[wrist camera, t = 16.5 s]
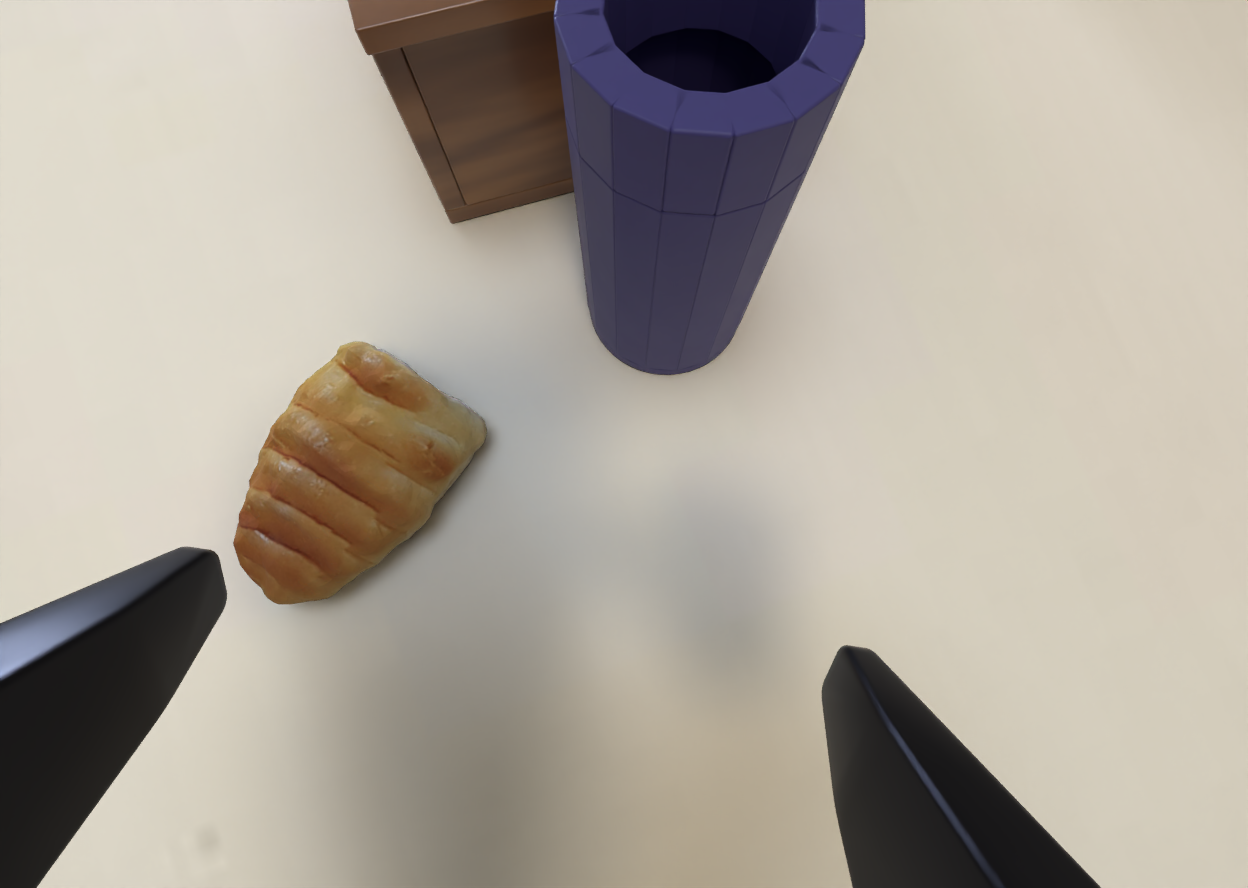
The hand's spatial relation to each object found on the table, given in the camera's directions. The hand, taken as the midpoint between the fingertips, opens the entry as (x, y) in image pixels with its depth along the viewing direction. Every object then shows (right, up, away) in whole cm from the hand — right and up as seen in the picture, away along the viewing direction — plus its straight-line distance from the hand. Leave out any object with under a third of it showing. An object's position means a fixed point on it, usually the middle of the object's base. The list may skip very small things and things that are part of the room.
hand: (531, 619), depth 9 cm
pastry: (-8, +1, +14) cm, 17 cm away
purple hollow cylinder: (+3, +8, +16) cm, 18 cm away
